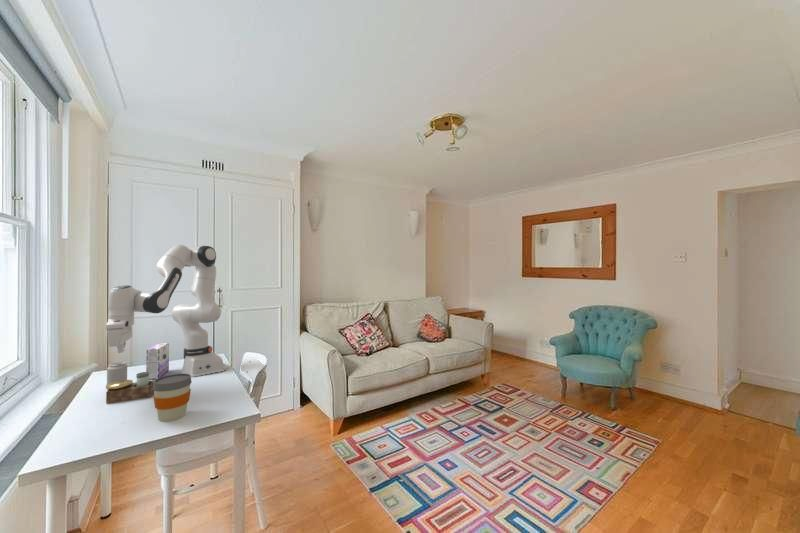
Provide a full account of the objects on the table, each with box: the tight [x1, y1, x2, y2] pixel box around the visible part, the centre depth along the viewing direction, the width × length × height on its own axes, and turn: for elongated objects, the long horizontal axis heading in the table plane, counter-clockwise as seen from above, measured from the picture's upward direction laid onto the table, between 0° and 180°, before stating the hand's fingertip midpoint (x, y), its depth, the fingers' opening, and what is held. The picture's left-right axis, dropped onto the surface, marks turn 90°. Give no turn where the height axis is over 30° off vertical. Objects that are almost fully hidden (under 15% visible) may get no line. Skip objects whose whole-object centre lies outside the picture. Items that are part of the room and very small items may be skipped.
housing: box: [105, 379, 155, 405], centre depth 144 cm, size 16×9×5 cm, turn 118°
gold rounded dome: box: [105, 379, 134, 390], centre depth 142 cm, size 9×9×6 cm
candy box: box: [145, 342, 170, 381], centre depth 173 cm, size 14×6×16 cm, turn 17°
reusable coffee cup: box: [152, 373, 192, 423], centre depth 125 cm, size 13×13×15 cm
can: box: [106, 361, 128, 385], centre depth 155 cm, size 8×8×12 cm
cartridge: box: [135, 371, 150, 387], centre depth 146 cm, size 5×5×10 cm
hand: (121, 352), depth 143 cm, fingers closed
